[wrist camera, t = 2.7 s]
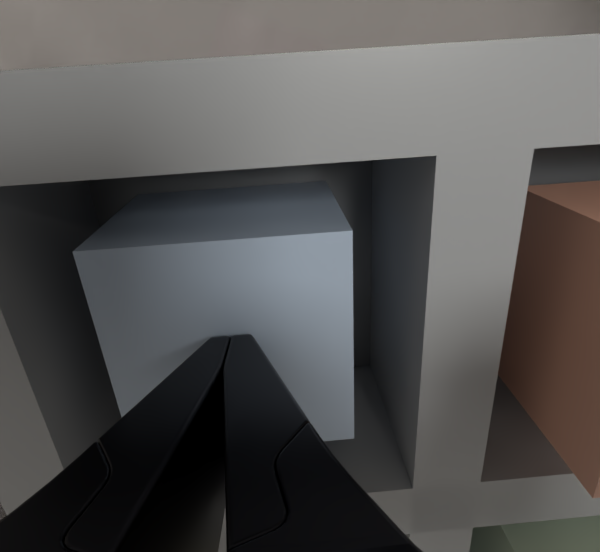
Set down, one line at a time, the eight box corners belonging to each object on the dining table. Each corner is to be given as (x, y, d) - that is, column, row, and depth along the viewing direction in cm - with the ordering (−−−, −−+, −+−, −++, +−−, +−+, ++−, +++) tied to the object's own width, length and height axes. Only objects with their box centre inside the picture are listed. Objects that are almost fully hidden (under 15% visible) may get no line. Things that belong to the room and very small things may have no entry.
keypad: (770, 33, 12) (1139, -1, 7) (599, 531, 20) (707, 680, 15) (5, 81, 11) (-210, 84, 6) (159, 574, 19) (121, 744, 14)
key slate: (325, 180, 12) (352, 230, 8) (331, 338, 14) (354, 438, 10) (138, 194, 12) (72, 251, 8) (172, 351, 14) (133, 458, 10)
